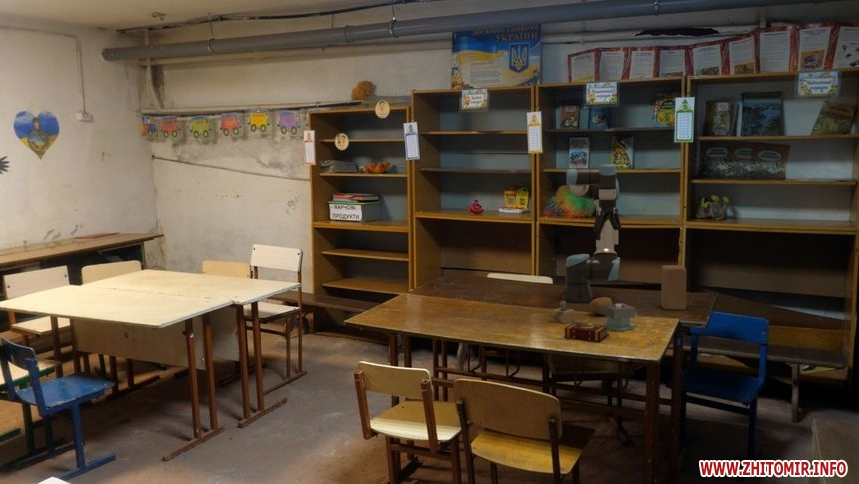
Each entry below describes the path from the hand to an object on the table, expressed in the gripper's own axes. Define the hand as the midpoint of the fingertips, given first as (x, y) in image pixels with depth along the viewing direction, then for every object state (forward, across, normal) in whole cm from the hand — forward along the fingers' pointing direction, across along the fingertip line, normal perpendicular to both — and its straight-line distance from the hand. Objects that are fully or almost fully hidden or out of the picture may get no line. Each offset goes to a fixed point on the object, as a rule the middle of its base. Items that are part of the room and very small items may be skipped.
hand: (607, 245), depth 299 cm
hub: (+33, -14, -14) cm, 38 cm away
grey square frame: (+28, -14, -14) cm, 34 cm away
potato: (+33, +2, +4) cm, 33 cm away
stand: (+33, -20, +10) cm, 40 cm away
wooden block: (+33, +35, -15) cm, 50 cm away
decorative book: (+33, -36, -12) cm, 50 cm away
